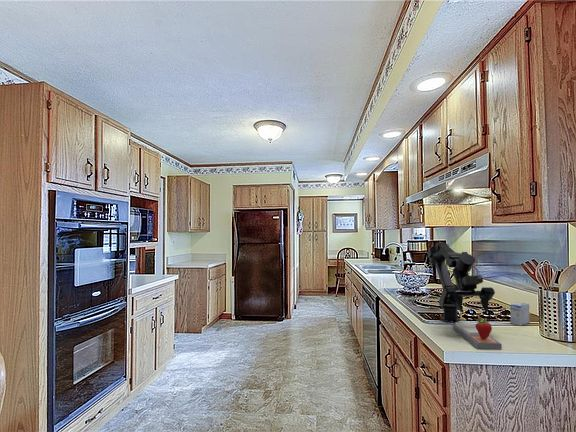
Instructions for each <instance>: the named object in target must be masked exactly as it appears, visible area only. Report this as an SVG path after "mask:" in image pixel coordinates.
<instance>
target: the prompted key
mask: <svg viewBox="0 0 576 432" xmlns="http://www.w3.org/2000/svg"><path fill="white" fill-rule="evenodd" d="M471 338H473V339H474V340H475V341H476V342H478V343H497V342H496V341H494V340H493V339H491V338H490V337H488V338H487V339H481V338H480V337H473V336H471Z"/></svg>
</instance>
